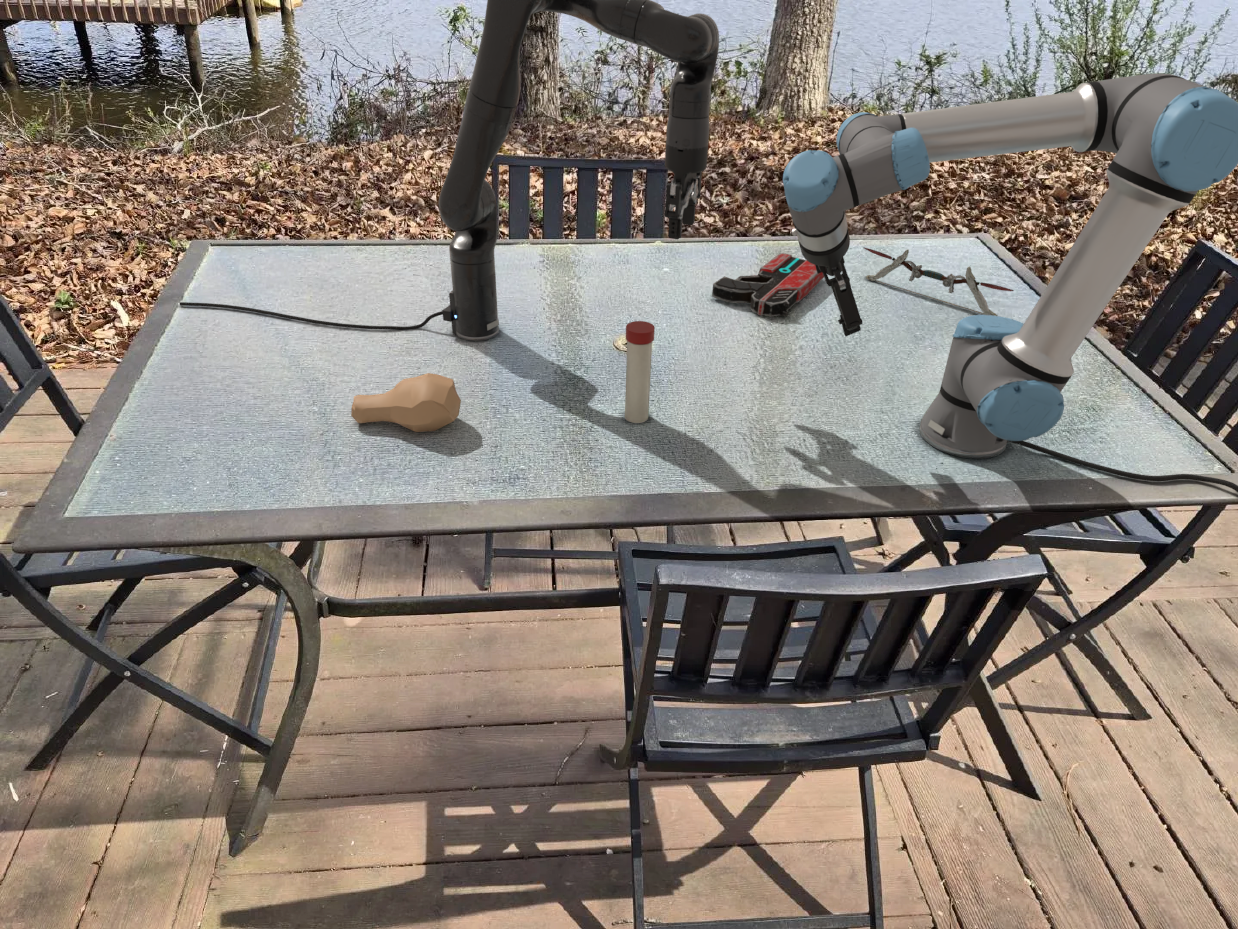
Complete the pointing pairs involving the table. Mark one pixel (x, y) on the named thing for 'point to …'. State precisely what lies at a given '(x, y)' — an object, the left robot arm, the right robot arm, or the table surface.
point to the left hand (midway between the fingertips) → (681, 231)
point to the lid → (640, 332)
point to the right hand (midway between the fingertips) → (838, 299)
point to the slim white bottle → (638, 382)
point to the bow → (947, 281)
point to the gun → (771, 286)
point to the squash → (412, 404)
